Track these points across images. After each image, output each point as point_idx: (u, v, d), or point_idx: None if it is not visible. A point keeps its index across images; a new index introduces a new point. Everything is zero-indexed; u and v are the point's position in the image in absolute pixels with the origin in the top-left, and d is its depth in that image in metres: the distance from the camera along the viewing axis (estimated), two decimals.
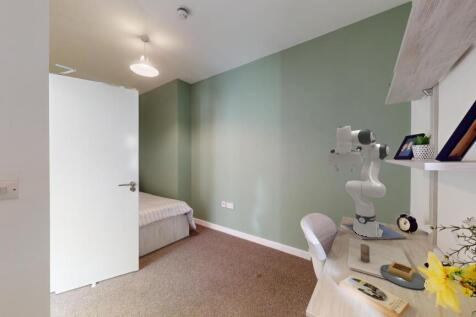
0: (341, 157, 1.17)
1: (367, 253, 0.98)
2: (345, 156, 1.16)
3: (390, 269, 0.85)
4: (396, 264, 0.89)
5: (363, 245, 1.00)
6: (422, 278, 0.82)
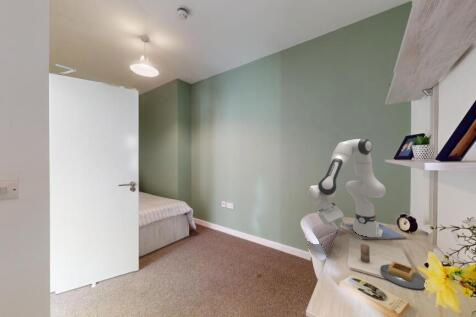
0: None
1: (367, 253, 0.98)
2: None
3: (390, 269, 0.85)
4: (396, 264, 0.89)
5: (363, 245, 1.00)
6: (422, 278, 0.82)
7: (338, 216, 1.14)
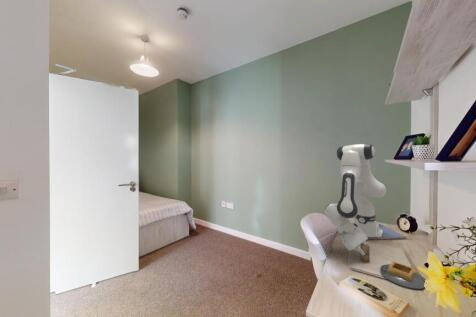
0: None
1: (367, 253, 0.98)
2: None
3: (390, 269, 0.85)
4: (396, 264, 0.89)
5: (363, 245, 1.00)
6: (422, 278, 0.82)
7: (362, 239, 1.03)
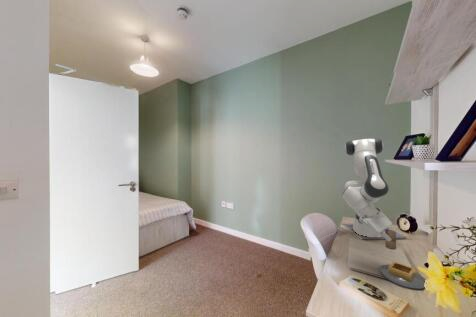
0: None
1: (394, 239, 0.86)
2: None
3: (390, 269, 0.85)
4: (396, 264, 0.89)
5: (389, 231, 0.89)
6: (422, 278, 0.82)
7: (387, 225, 0.92)
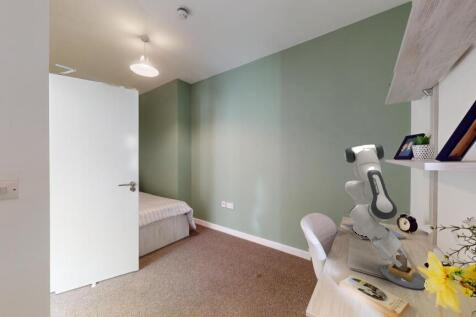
0: None
1: (405, 266, 0.83)
2: None
3: (390, 269, 0.85)
4: None
5: (399, 257, 0.85)
6: (422, 278, 0.82)
7: (397, 246, 0.89)
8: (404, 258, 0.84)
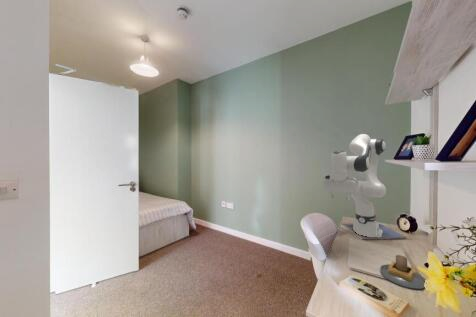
0: (336, 184, 1.13)
1: (405, 266, 0.83)
2: (340, 183, 1.11)
3: (390, 269, 0.85)
4: None
5: (399, 257, 0.85)
6: (422, 278, 0.82)
7: None
8: (404, 258, 0.84)
